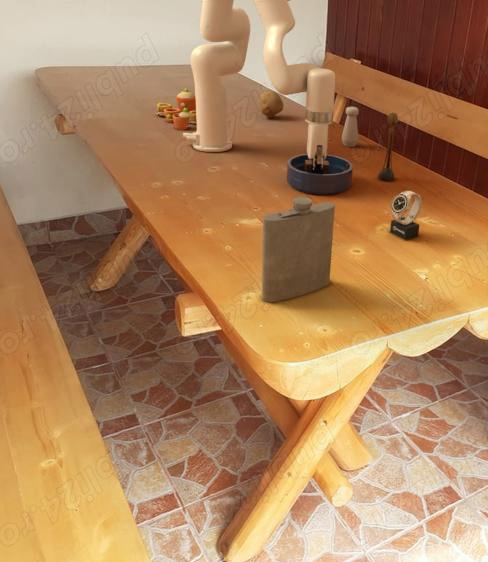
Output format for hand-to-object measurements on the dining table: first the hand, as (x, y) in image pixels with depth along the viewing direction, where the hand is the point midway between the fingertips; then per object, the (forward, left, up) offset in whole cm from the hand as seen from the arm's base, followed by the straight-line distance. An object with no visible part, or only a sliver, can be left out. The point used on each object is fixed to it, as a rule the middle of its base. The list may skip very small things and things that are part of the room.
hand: (316, 178), depth 185 cm
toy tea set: (-43, +62, -2) cm, 75 cm away
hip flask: (-9, -62, -2) cm, 63 cm away
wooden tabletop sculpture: (+22, +5, -2) cm, 23 cm away
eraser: (0, 0, -1) cm, 1 cm away
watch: (+19, -34, -2) cm, 39 cm away
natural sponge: (-11, +70, -2) cm, 71 cm away
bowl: (+1, 0, -1) cm, 2 cm away
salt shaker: (+15, +38, -2) cm, 41 cm away
